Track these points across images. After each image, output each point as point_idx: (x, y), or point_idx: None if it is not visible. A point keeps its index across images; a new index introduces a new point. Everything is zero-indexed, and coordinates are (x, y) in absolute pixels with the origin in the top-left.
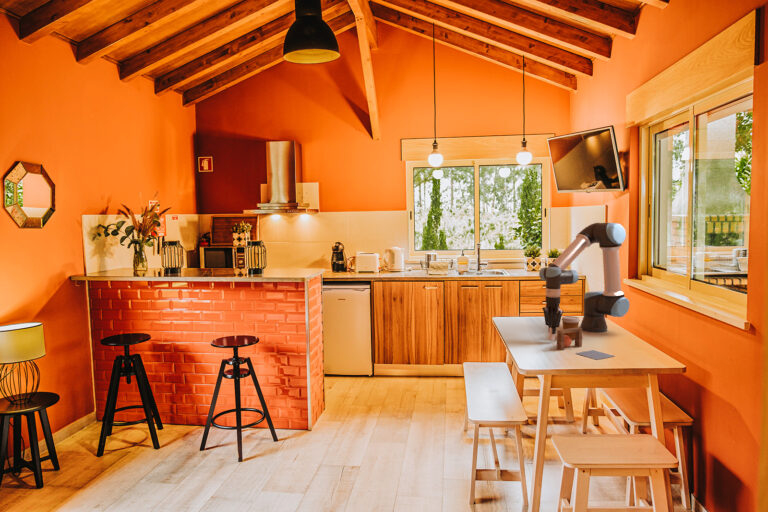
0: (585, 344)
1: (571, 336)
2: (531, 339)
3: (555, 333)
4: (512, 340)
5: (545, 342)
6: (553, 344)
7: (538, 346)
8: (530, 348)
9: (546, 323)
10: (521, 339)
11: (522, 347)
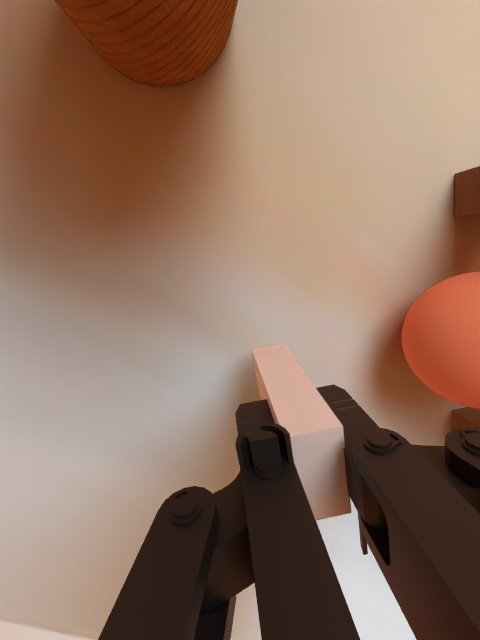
0: (465, 32)
1: (235, 5)
2: (75, 462)
3: (337, 388)
4: (76, 614)
5: (226, 404)
6: (319, 377)
7: (325, 524)
8: (350, 595)
9: (210, 623)
10: (55, 540)
11: None
